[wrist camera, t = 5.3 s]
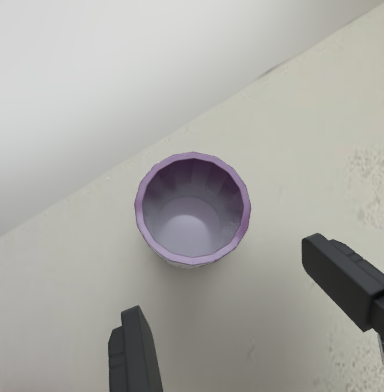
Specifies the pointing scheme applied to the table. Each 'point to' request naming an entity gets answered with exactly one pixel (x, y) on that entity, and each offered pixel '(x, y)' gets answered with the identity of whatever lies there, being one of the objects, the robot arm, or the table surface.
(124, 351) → the robot arm
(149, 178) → the cup
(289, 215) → the table surface
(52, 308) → the table surface
